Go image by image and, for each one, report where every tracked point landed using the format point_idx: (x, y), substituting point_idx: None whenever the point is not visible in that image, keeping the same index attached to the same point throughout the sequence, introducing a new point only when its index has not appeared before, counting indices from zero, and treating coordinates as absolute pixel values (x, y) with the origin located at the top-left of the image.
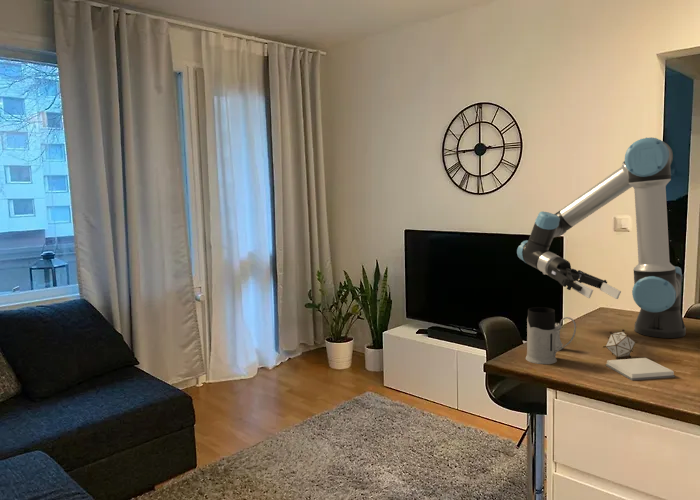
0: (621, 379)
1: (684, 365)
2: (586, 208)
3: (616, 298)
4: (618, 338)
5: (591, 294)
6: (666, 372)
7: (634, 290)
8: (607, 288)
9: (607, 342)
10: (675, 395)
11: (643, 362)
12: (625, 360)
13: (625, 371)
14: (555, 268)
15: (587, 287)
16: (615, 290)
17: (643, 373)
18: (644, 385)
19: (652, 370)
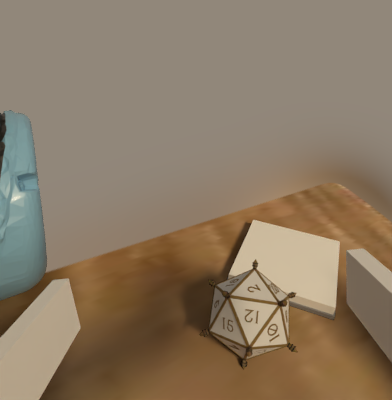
0: None
1: (171, 244)
2: None
3: (79, 325)
4: (274, 288)
5: (347, 279)
6: (267, 224)
7: (41, 226)
8: (25, 365)
9: (286, 331)
10: (315, 202)
11: (262, 261)
12: (289, 285)
13: (338, 256)
14: None
15: (380, 268)
16: (56, 303)
17: (314, 235)
18: (331, 232)
19: (285, 235)
